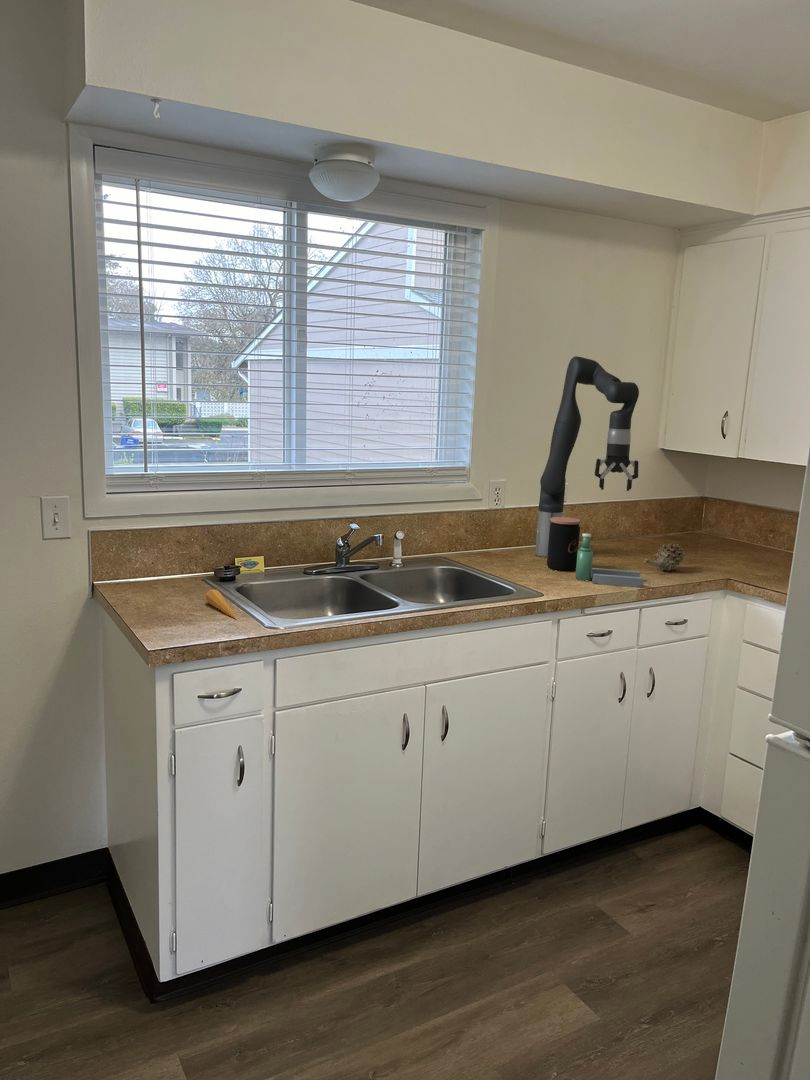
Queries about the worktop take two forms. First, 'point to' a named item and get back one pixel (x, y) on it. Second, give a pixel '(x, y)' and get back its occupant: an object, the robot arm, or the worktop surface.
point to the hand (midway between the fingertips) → (615, 490)
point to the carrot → (219, 602)
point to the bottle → (584, 559)
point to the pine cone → (667, 557)
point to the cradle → (617, 577)
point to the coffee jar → (563, 543)
